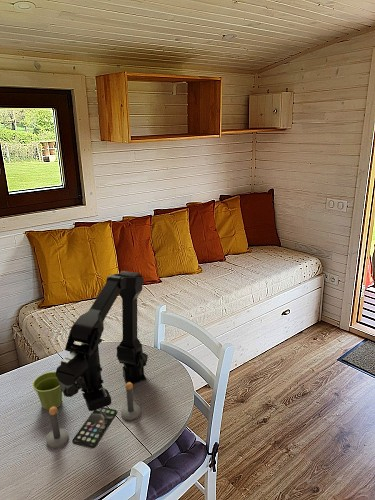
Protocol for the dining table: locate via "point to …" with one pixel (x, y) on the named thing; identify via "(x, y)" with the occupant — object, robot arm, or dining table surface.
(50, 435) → the stand
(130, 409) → the stand inner
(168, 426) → the dining table surface
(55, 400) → the plant pot
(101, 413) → the smartphone
